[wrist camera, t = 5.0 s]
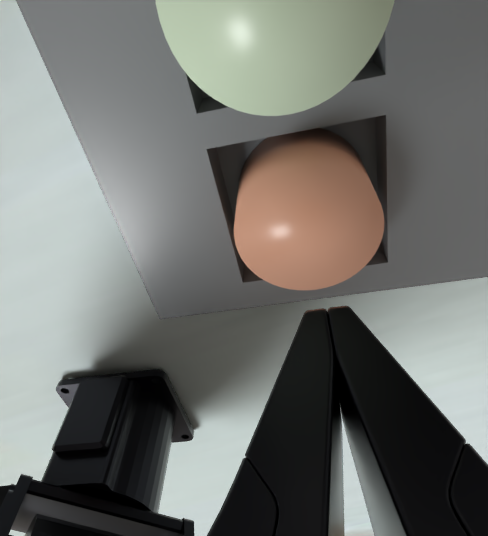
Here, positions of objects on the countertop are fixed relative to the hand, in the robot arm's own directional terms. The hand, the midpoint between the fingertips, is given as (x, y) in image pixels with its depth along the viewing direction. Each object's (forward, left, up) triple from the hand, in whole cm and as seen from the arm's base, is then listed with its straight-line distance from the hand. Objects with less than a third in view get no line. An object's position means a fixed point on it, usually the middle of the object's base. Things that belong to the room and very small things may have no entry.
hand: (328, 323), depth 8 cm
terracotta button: (-1, 0, -8) cm, 8 cm away
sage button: (+5, 0, -7) cm, 8 cm away
